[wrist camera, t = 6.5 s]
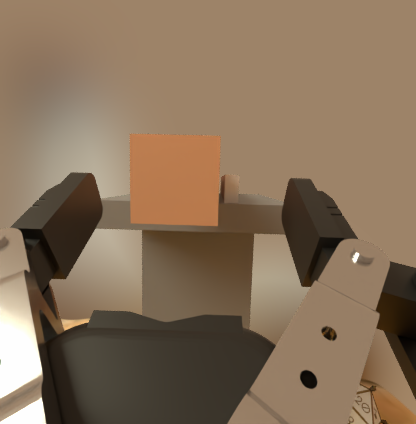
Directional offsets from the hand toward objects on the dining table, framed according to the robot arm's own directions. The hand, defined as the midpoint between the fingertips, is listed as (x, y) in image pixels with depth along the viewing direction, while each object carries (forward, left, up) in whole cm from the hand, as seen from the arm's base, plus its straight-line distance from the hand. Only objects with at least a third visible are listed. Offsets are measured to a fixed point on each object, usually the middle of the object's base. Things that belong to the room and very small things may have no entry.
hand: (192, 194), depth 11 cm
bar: (0, +9, -1) cm, 9 cm away
